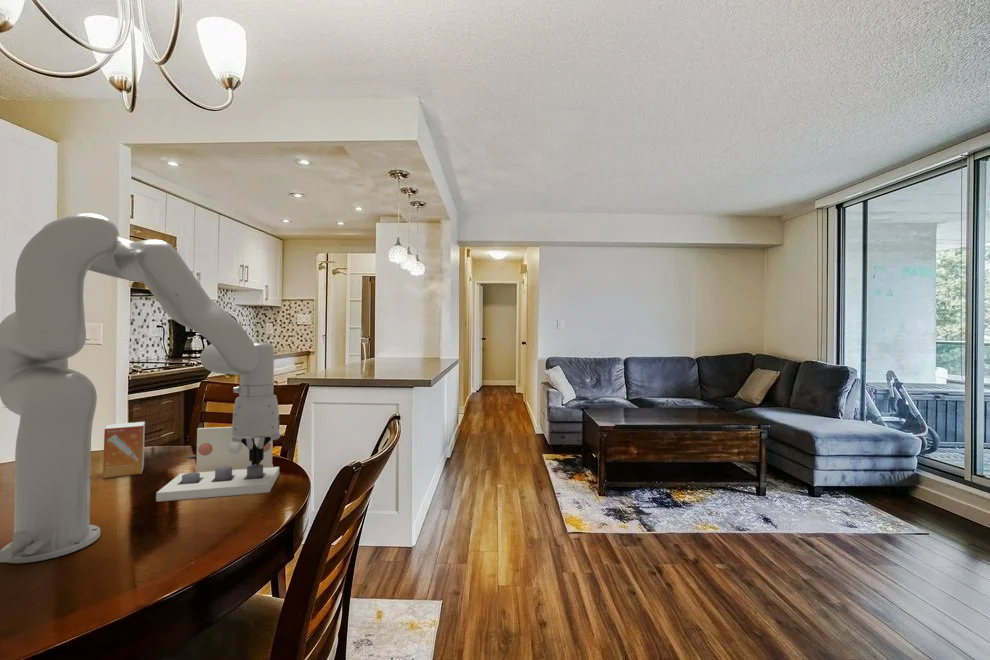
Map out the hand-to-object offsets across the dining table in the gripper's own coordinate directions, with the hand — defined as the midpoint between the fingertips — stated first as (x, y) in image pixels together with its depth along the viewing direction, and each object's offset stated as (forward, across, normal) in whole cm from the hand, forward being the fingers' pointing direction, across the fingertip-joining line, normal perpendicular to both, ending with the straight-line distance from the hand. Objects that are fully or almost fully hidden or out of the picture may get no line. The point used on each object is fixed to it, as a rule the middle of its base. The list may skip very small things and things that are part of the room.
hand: (256, 463), depth 112 cm
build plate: (+6, -20, +30) cm, 37 cm away
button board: (+5, -7, 0) cm, 9 cm away
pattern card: (+5, -7, +11) cm, 14 cm away
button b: (+4, -7, 0) cm, 8 cm away
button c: (+4, 0, 0) cm, 4 cm away
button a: (+5, -14, 0) cm, 15 cm away
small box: (+5, -35, +18) cm, 40 cm away
